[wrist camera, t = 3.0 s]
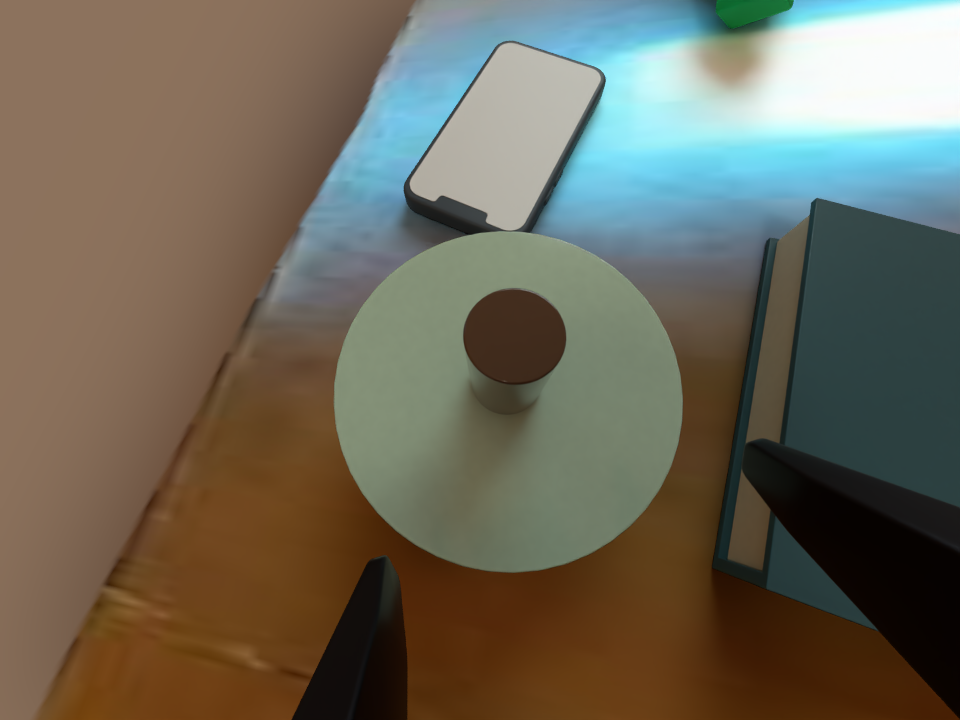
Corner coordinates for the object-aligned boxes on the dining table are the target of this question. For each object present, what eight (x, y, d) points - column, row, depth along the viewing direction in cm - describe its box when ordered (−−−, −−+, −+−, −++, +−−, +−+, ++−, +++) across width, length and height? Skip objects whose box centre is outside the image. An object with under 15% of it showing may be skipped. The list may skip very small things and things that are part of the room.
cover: (728, 504, 15) (887, 520, 9) (380, 615, 14) (301, 715, 8) (597, 215, 19) (649, 93, 13) (320, 288, 18) (237, 194, 12)
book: (1068, 701, 18) (1230, 763, 14) (711, 567, 19) (766, 589, 16) (1044, 316, 23) (1155, 284, 19) (766, 240, 25) (816, 197, 21)
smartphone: (499, 56, 30) (398, 209, 26) (500, 34, 29) (393, 192, 24) (606, 92, 29) (519, 259, 25) (613, 70, 28) (522, 244, 23)
